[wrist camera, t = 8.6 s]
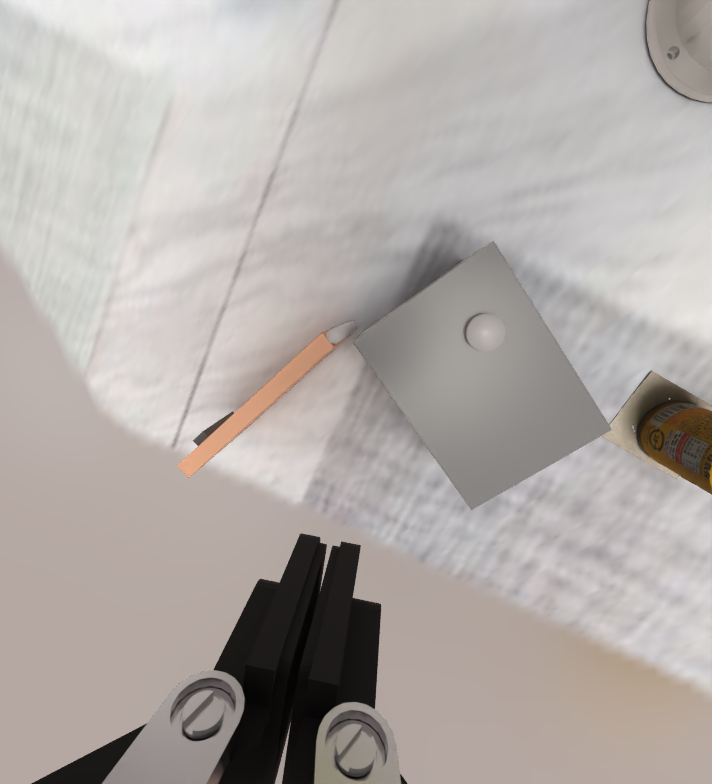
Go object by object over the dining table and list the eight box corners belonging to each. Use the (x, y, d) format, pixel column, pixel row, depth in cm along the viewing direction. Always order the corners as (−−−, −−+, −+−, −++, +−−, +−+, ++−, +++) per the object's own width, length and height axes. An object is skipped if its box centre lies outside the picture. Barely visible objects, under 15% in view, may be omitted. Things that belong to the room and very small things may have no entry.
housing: (462, 260, 36) (496, 238, 24) (549, 394, 38) (618, 433, 26) (363, 331, 38) (351, 342, 26) (449, 454, 40) (473, 515, 28)
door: (359, 326, 37) (345, 336, 26) (247, 427, 40) (188, 477, 29) (345, 310, 37) (324, 313, 25) (233, 413, 40) (169, 457, 29)
